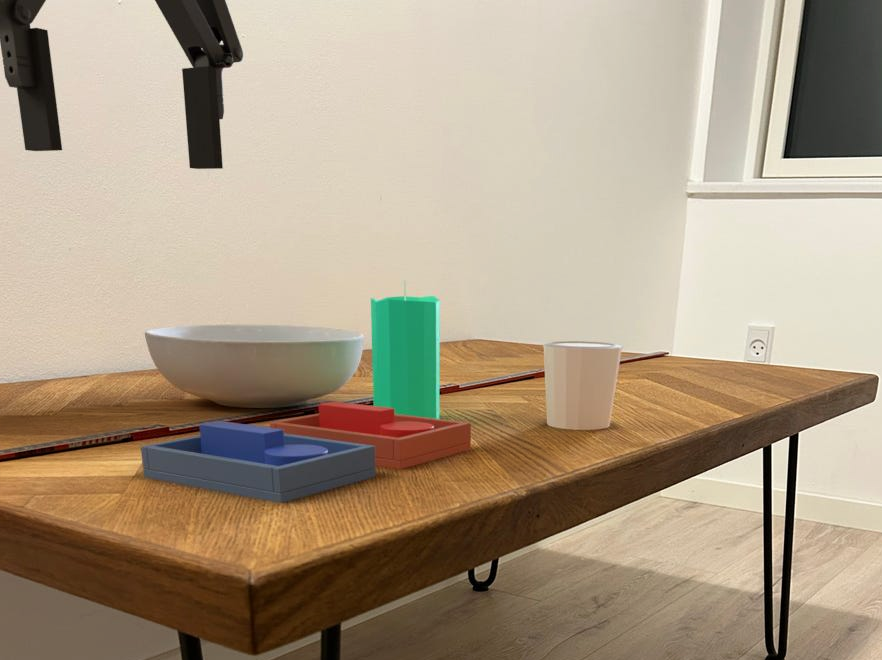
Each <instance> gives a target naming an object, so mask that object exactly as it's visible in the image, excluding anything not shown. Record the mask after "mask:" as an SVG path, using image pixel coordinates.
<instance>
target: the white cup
mask: <svg viewBox="0 0 882 660" xmlns="http://www.w3.org/2000/svg"><path fill="white" fill-rule="evenodd" d="M622 349H623V346H621V345H620V344H616V343H609V342H600V341H585V340H584V341H583V340H581V341H578V340H577V341H575V340H574V341H573V340H571V341H570V340H569V341H553V342H548V343H544V344H543V361H544V362H543V367H544V387H545V388H544V389H545V409H546V411H545V412H546V424H547V426H549V427H551V428H555V429H562V430H574V431H594V430H595V431H596V430H603V429H607V428H609V427H610V426H611V419H612V415H613V414H612V413H613V407H614V401H615V394H616V389H617V382H618V376H619V369H620V363H621V356H622Z"/></svg>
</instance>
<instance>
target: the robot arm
mask: <svg viewBox="0 0 882 660" xmlns="http://www.w3.org/2000/svg"><path fill="white" fill-rule="evenodd" d="M46 1H47V0H0V51H1V57H2V65H3V71H4V77H5V80H6V83H7V85H8V87H9V88H14V89H16V93H17V99H18V100H17V101H18V106H19V107H18V108H19V113H20V122H21V128H22V129H21V130H22V136H23V143H24V150H25V151H30V152H48V151H49V152H52V151H55V152H56V151H63V143H62V137H61V136H62V135H61V129H60V121H59V112H58V104H57V97H56V96H57V95H56V89H55V81H54V71H53V64H52V57H51V55H52V54H51V48H50V39H49V32H48V29H45V28H40V27H32V28H31V24H32V23H33V22H34V20H35V19H36V17H37V16H38V14H39V12H40V11H41V9H42V8H43V6H44V4H45V3H46ZM154 1H155V3H156V5H157V7H158V8H159V10H160V12H161V14H162V16H163V17H164V19H165V21H166V22H167V24H168V26H169V28H170V29H171V32H172V33H173V35H174V37H175V39H176V40H177V42H178V44H179V46H180V48H181V49H182V51H183V53H184V54H185V56H186V58H187V60H188V61H189V63H190V66H192V67H184V68H181V72H182V85H183V99H184V112H185V125H186V136H187V137H186V138H187V151H188V165H189V169H194V170H211V169H212V170H213V169H215V170H217V169H220V170H221V169H222V170H223V169H224V165H223V152H222V151H223V150H222V149H223V148H222V136H221V135H222V134H221V121H220V120H224V115H225V104H224V87H223V70H224V69H228V68H231V67H232V66H233V64H234V63H241V62H242V61H243V58H244V52H243V51H244V50H243V47H242V45H241V42H240V38H239V36H238V33H237V30H236V27H235V25H234V24H235V23H234V21H233V19H232V16H231V12H230V9H229V7H228V4H227V1H226V0H154Z"/></svg>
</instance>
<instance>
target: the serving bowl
mask: <svg viewBox="0 0 882 660" xmlns="http://www.w3.org/2000/svg"><path fill="white" fill-rule="evenodd" d="M144 338H145V342H146V345H147V349H148V352H149V355H150V357H151V360H152V362H153V364H154V365H155V367H156V369H157V370H158V372H159V373H160V374H161V376H162V377H163V378H164V379H165V380H167V382H168V383H170V384H171V385H172V386H173V387H175V388H177V389H179V390H180V391H182V392H184V393H187V394H189V395H192V396H194V397H198V398H201V399H205V400H209V401H212V402H214V403H215V404H217V405H221V406H223V407H228V408H229V407H230V408H242V409H275V408H276V409H277V408H289V407H295V406H300V405H303V404H305V403H307V402H308V401H310V400H314V399H318V398H321V397H324V396H327V395H330V394H332V393H335V392H336V391H338V390H340V389H341V388H343V387H344V386H345V385H346V384H348V382H349V381H350V380H351V379H352V377H354V375H355V374H356V372H357V371H358V368H359V365H360V363H361V359H362V357H363V351H364V350H363V349H364V341H365V336H364V334H363V333H360V332H358V331H353V330H349V329H343V328H342V329H341V328H332V327H323V326H308V325H307V326H306V325H286V324H285V325H283V324H199V325H177V326H166V327H157V328H151V329H148V330H145V332H144Z"/></svg>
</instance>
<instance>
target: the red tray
mask: <svg viewBox="0 0 882 660" xmlns="http://www.w3.org/2000/svg"><path fill="white" fill-rule="evenodd" d="M394 421H395V422H399V421H414V422H425V423H429V424H432V425H434V429H433V430H429V431H425V432H421V433H417V434H412V435H408V436H404V437H400V438H396V437H389V436H381V435H373V434H366V433H358V432H351V431H343V430H335V429H328V428H320V424H319V413H314V414H308V415H303V416H298V417H293V418H286V419H280V420H276V421H271V422H269V428H275V429H283V430H284V433H286V434H293V435H300V436H307V437H315V438H322V439H329V440H336V441H343V442H351V443H358V444H365V445H372V446H375V467H382V468H387V469H397V470H403V469H407V468H411V467H414V466H417V465H421V464H426V463H428V462H431V461H435V460H436V461H437V460H439V459H443V458H446V457H450V456H454V455H456V454H461V453H464V452H467V451H470V450H471V449H472V447H471V446H472V444H471V442H472V441H471V440H472V437H471V436H472V422H469V421H461V420H460V421H459V420H453V419H452V420H451V419H442V418H439V419H435V418H426V417H418V416H409V415H400V414H394Z"/></svg>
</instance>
